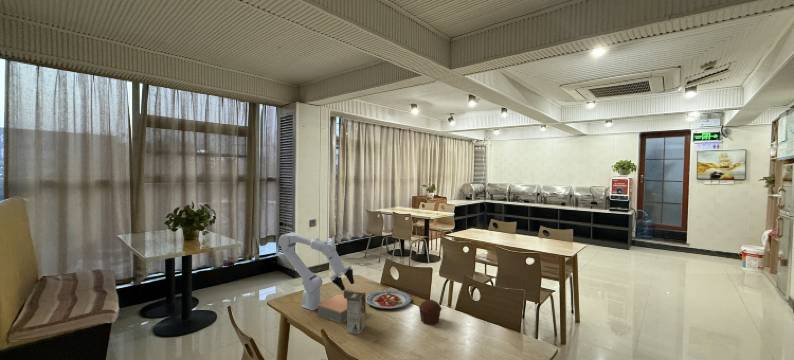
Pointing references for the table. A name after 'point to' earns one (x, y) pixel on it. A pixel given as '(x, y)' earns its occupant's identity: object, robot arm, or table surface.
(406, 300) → the ceramic plate
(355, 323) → the coffee box
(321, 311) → the box
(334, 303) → the lid
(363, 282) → the table surface
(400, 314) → the table surface
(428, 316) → the muffin
